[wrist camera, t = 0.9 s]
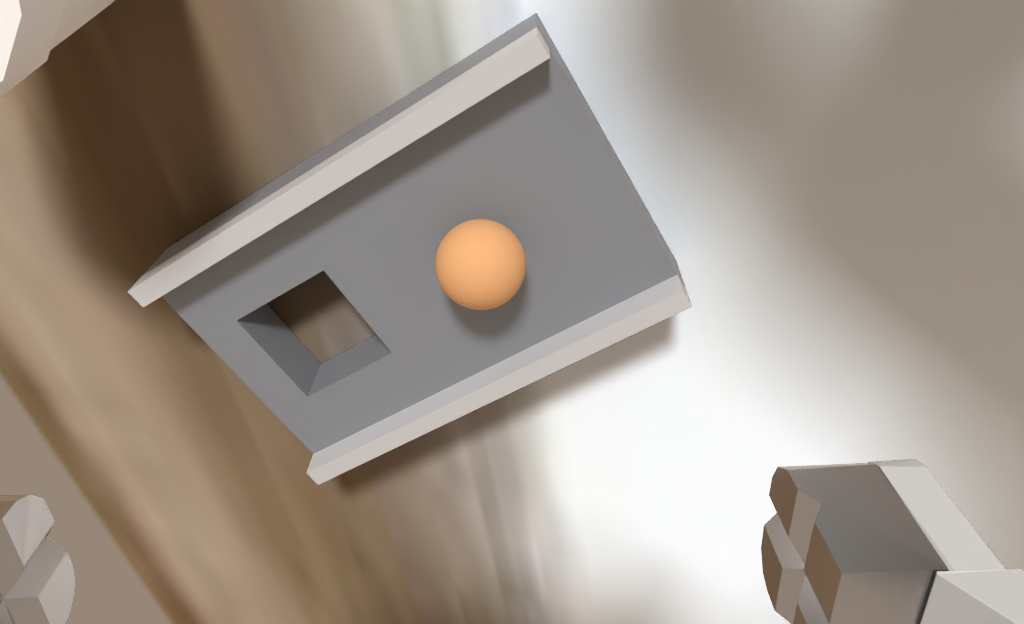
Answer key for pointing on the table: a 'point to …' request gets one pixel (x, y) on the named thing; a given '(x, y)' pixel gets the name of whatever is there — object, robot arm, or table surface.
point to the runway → (429, 256)
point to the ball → (480, 264)
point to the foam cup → (37, 32)
